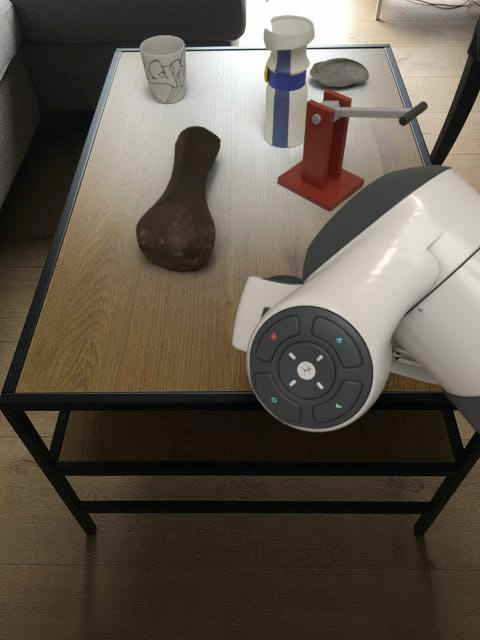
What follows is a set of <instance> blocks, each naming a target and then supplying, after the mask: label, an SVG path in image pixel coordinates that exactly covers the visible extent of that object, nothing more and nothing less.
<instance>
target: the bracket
mask: <svg viewBox="0 0 480 640" xmlns="http://www.w3.org/2000/svg"><path fill="white" fill-rule="evenodd" d="M323 101H339V105H340V107H352V101H353V98H352V97H350V96H347V95H345V94H343V93H340V92H338V91H335V90H332V89H330V88H326V89H324V91H323V98H322V102H323ZM334 115H335V109H332V108H330V107H328V106H325V105H323V104H321V102H318V101H316V100H314V99H312V98H311V99H309V100H307V108H306V121H305V134H304V142H303V147H302V148H303V149H302V150H303V151H302V160H300V161H299V162H297V163H296V164H295V165H294V166H292V167H290V168H289V169H288V170H286V171H285V172H283V173H282V174H280V175H279V176H277V184H278V185H280V186H282V187H283V188H286V189H287V190H289V191H291V192H293V193H295V194H296V195H298V196H300V197H302V198H304V199H305V200H307V201H309V202H311V203H313V204H315V205H317V206H318V207H321V208H322V209H324V210H326V211H328V212H332V211H334V209H336V208H337V207H339V205H341V204H342V203H343V202H344V201H346V200H347V199H348V198H350V197H351V196H352V195H353V194H354V193H356V192H357V191H359V189H361V188H363V187H364V183H365V179H364V178H363V177H360V176H358V175H356V174H354V173H352V172H350V171H348V170H346V169H344V168H343V164H344V157H345V149H346V143H347V135H348V129H349V123H350V117H340V118H339V119H337V120H336V121H334Z"/></svg>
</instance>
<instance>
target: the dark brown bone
mask: <svg viewBox="0 0 480 640" xmlns="http://www.w3.org/2000/svg"><path fill="white" fill-rule="evenodd" d="M221 142H222V139H221V138H220V137H219V136H218V135H217V134H216V133H215V132H213V131H211V130H209V129H207V128H206V127H205V126H199V125H192V126H187V127H186V128H185V129H182V131H180V132H179V135H178V136H177V139H176V141H175V142H174V154H173V155H174V158H173V166H172V171H171V174H170V178H169V180H168V183H167V186H166V188H165V189H164V191H163V192H162V194H161V195H160V197H159V198H158V199H157V200H156V202H154V204H153V205H152V206H151V207H149V209H147V210H146V212H144V214H143V215H142V216H141V217H140V218H139V220H138V222H137V224H136V227H135V237H136V241H137V246H138V248H139V251H140V252H141V253H142V254H143V255H144V256H145V257H146V258H147V259H148V260H149V261H151V262H153V263H155V264H157V265H159V266H161V267H163V268H166V269H169V270H173V271H174V270H175V271H180V272H181V271H192V270H197V269H199V268H202V267H204V266H206V265H207V264H208V262H209V260H210V258H211V256H212V254H213V252H214V251H213V250H214V247H215V243H216V237H217V235H216V233H217V231H216V230H217V229H216V226H215V222H214V219H213V216H212V214H211V211H210V209H209V206H208V202H207V190H206V189H207V188H206V187H207V180H208V176H209V173H210V171H211V169H212V168H213V166H214V164H215V163H216V160H217V158H218V155H219V153H220V150H221Z"/></svg>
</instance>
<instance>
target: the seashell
mask: <svg viewBox="0 0 480 640" xmlns="http://www.w3.org/2000/svg"><path fill="white" fill-rule="evenodd" d="M309 75H310V77H311V78H312V79H313V80H314V81H318V82H319V83H320V84H321V85H322V86H323V85H324V86H327V87H335V88H336V87H337V88H340V87H341V88H342V87H343V88H345V87H349V86H353V85H354V84H356V83H359V82H361V83H366V82H368V81H369V79H370V73H369V71H368V68H366V66H364V65H363V64H362V63H361V62H359V61H356V60H354V59H351V58H348V57H335V58H334V57H333V58H330V59H326V60H322V61H318V62H315V63H313V65H312V67H311V69H310V70H309Z"/></svg>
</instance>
